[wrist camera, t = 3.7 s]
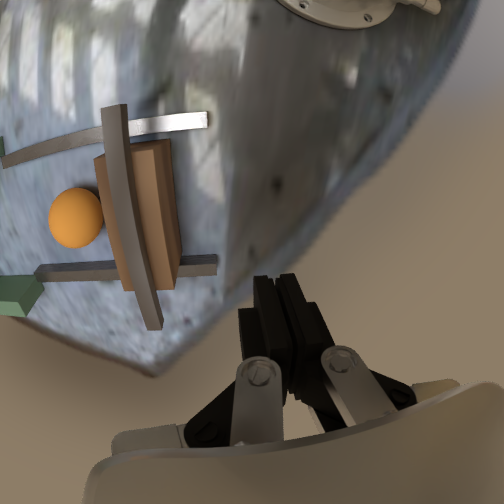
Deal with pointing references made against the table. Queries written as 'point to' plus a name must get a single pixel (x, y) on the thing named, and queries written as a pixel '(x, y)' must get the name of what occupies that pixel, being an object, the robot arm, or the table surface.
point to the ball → (75, 218)
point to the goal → (18, 287)
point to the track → (101, 269)
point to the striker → (139, 212)
